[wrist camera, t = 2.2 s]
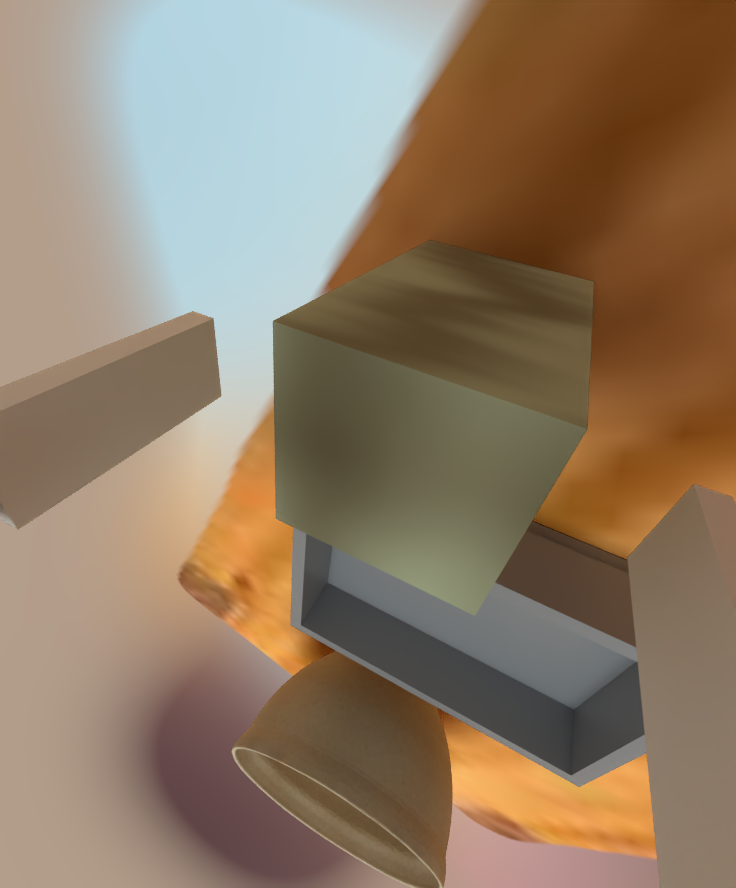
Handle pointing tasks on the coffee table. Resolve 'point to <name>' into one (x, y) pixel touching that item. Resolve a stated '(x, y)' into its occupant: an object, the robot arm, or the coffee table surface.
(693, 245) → the coffee table surface
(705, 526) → the robot arm
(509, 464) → the olive block
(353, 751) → the planter bowl
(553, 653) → the bin
